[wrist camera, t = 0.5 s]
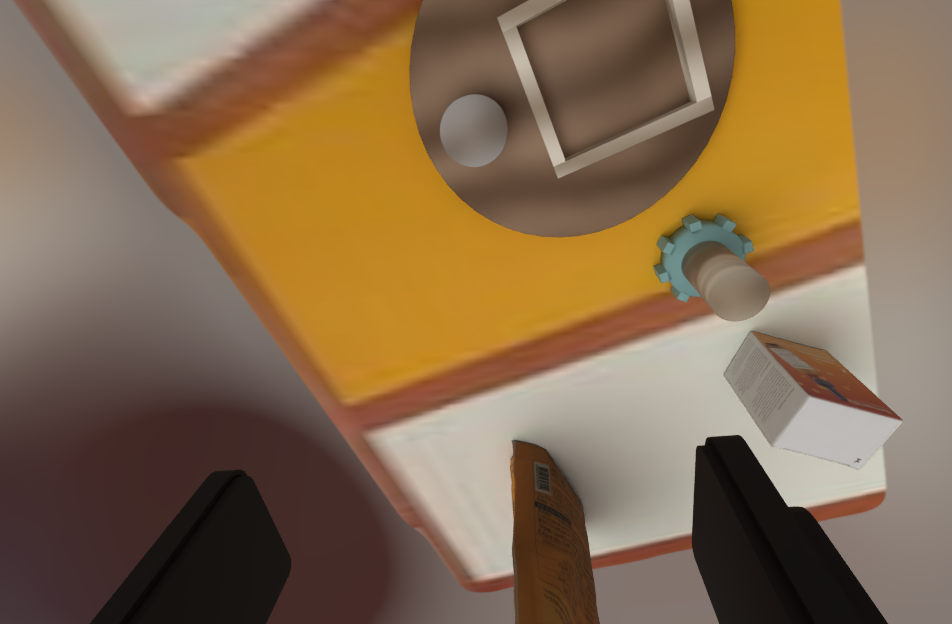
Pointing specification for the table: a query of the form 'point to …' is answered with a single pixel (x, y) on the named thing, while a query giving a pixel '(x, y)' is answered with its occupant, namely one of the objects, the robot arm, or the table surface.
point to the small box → (809, 401)
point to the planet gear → (712, 268)
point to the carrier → (568, 103)
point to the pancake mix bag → (548, 544)
